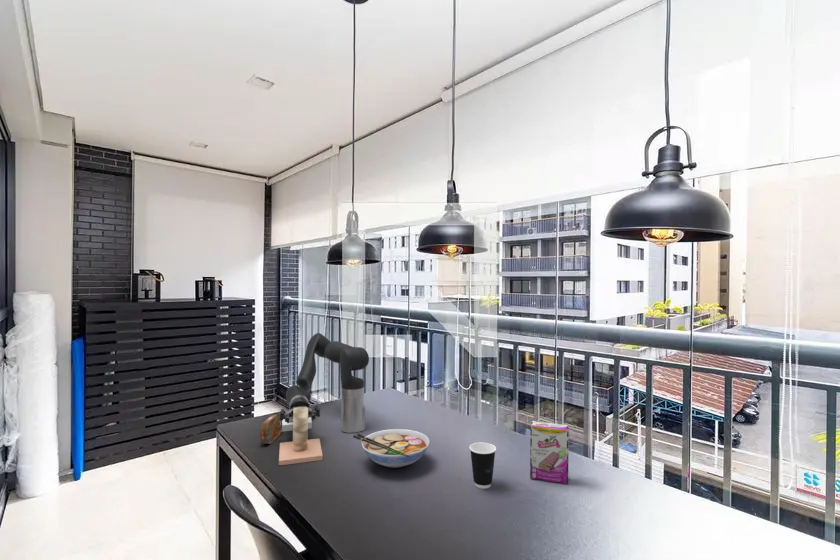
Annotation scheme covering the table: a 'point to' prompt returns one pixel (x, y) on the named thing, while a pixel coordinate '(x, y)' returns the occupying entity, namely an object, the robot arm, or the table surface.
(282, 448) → the terracotta tile
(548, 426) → the candy bar box
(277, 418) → the tin
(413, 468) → the table surface
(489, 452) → the dixie cup
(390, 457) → the ramen bowl
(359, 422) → the robot arm
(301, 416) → the maple plug
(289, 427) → the pocket block
